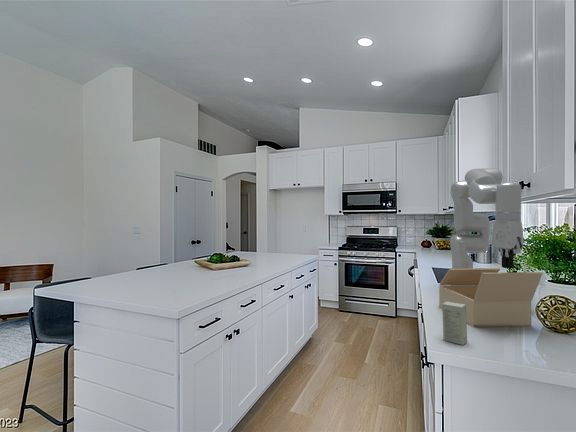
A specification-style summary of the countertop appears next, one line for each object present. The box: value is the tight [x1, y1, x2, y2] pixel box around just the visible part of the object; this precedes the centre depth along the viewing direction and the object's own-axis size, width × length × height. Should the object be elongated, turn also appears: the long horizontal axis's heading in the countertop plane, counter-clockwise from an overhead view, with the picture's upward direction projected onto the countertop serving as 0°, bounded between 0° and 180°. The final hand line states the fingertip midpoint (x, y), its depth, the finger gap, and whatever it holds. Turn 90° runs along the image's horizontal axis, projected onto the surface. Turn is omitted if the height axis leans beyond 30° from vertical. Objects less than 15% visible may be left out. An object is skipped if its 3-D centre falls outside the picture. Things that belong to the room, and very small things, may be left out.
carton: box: [438, 285, 532, 328], centre depth 124 cm, size 24×22×10 cm
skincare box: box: [442, 302, 468, 346], centre depth 100 cm, size 6×4×12 cm
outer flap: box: [474, 271, 544, 302], centre depth 110 cm, size 12×22×1 cm
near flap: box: [438, 267, 501, 286], centre depth 132 cm, size 12×22×1 cm
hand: (507, 267), depth 110 cm, fingers closed
